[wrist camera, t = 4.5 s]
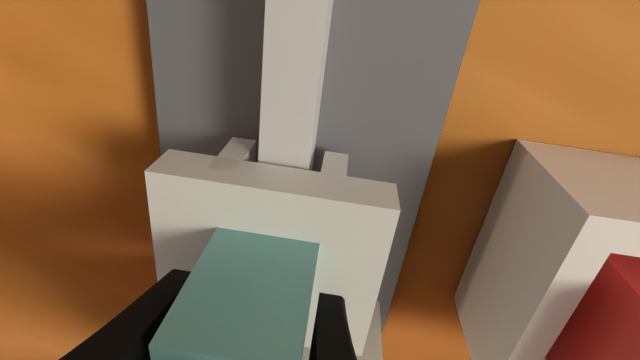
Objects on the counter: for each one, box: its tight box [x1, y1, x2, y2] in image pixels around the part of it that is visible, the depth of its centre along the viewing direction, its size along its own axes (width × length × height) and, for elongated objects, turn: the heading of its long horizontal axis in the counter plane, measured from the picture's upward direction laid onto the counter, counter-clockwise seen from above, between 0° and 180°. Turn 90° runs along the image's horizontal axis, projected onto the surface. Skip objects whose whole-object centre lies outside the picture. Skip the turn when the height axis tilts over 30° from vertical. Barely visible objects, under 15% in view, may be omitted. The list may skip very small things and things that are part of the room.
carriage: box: [144, 137, 401, 360], centre depth 11 cm, size 6×7×7 cm
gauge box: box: [453, 139, 640, 360], centre depth 13 cm, size 8×8×5 cm
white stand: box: [146, 0, 480, 360], centre depth 11 cm, size 24×10×7 cm, turn 173°
